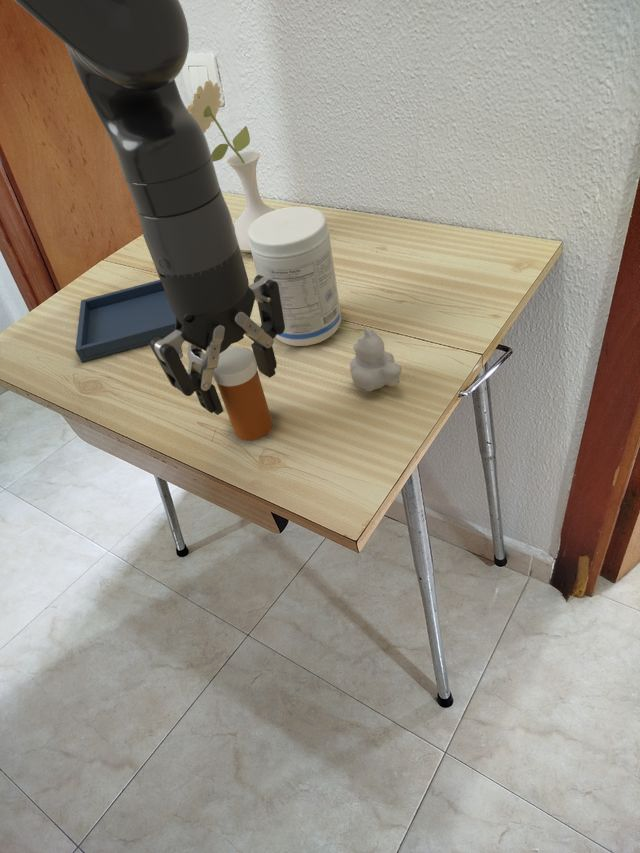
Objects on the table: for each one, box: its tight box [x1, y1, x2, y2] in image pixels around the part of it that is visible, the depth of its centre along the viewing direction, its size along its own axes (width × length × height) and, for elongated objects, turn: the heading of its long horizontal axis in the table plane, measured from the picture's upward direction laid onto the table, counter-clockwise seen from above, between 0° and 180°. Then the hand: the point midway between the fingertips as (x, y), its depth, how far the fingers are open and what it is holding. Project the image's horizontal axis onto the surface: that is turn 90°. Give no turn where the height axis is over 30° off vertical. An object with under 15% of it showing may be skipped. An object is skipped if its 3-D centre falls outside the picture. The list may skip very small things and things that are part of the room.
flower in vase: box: [186, 79, 277, 254], centre depth 89 cm, size 13×11×25 cm
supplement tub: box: [248, 205, 342, 347], centre depth 73 cm, size 10×10×15 cm
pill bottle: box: [212, 345, 273, 441], centre depth 63 cm, size 5×5×10 cm
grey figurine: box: [349, 326, 402, 392], centre depth 65 cm, size 5×7×8 cm
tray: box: [75, 279, 176, 363], centre depth 86 cm, size 18×14×2 cm
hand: (242, 391), depth 63 cm, fingers open, 6 cm apart
